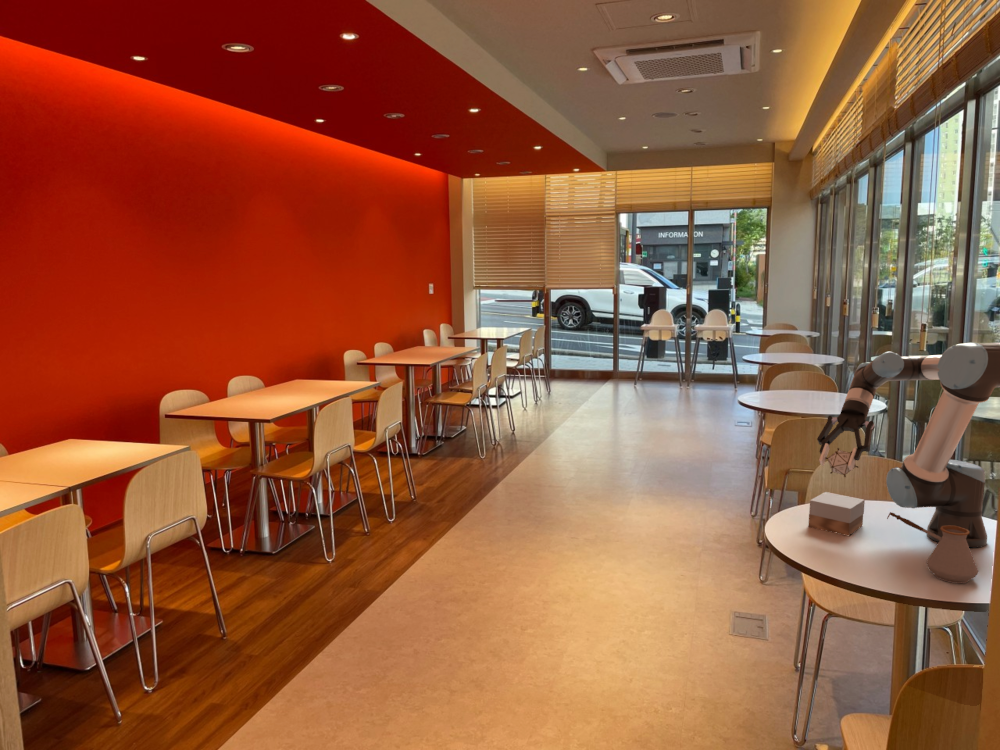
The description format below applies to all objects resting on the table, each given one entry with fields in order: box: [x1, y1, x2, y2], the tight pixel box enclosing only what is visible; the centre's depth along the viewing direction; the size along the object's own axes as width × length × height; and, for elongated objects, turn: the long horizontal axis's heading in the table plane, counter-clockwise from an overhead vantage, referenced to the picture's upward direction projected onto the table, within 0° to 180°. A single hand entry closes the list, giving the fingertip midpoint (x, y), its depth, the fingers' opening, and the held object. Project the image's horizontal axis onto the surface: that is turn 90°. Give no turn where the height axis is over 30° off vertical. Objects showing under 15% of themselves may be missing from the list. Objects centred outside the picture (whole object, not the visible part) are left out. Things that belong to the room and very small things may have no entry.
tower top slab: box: [808, 491, 866, 523], centre depth 230 cm, size 12×12×4 cm
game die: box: [825, 447, 860, 478], centre depth 228 cm, size 9×8×10 cm
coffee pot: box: [886, 511, 979, 584], centre depth 194 cm, size 21×12×15 cm, turn 58°
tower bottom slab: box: [808, 513, 864, 536], centre depth 231 cm, size 12×12×4 cm
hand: (835, 465), depth 226 cm, fingers closed on game die, 8 cm apart
